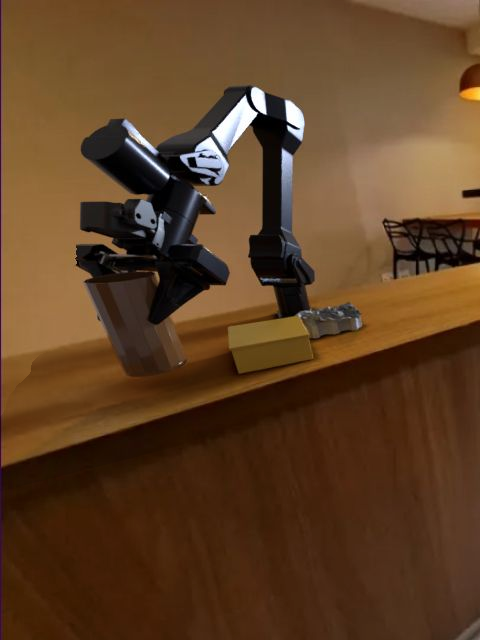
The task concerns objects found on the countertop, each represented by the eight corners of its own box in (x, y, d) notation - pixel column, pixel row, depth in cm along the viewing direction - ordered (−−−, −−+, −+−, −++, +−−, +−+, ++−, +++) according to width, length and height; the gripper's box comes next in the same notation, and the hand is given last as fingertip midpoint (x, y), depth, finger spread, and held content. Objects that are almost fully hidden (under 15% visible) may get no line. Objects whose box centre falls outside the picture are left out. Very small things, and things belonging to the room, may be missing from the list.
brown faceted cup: (129, 363, 60) (90, 275, 55) (188, 353, 63) (157, 269, 58) (120, 381, 55) (77, 286, 50) (185, 369, 58) (151, 278, 53)
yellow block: (235, 350, 71) (227, 326, 69) (304, 338, 76) (298, 315, 74) (237, 374, 62) (228, 348, 60) (315, 359, 67) (309, 334, 65)
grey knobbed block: (303, 341, 74) (298, 318, 72) (295, 330, 80) (290, 308, 78) (366, 329, 79) (362, 307, 78) (354, 319, 85) (350, 298, 83)
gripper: (44, 175, 53) (-15, 287, 48) (181, 172, 51) (134, 289, 46) (129, 234, 64) (87, 331, 59) (246, 234, 62) (213, 335, 57)
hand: (127, 322), depth 55 cm, fingers closed on brown faceted cup, 7 cm apart
